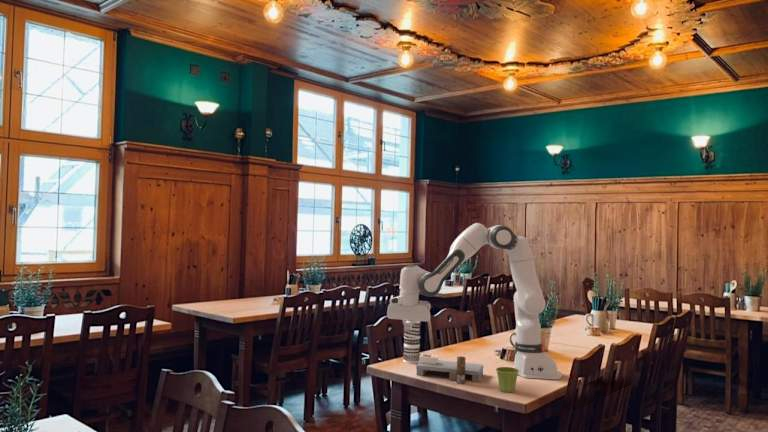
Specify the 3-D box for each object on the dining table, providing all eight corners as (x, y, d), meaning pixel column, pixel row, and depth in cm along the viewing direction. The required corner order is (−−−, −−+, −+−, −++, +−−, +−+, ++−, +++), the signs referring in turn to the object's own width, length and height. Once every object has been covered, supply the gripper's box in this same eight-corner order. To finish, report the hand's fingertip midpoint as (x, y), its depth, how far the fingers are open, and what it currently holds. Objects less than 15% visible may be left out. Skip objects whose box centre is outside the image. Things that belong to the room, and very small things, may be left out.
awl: (465, 382, 247) (466, 356, 247) (464, 384, 243) (464, 358, 244) (457, 381, 248) (457, 356, 248) (455, 383, 244) (456, 357, 245)
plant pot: (514, 395, 229) (514, 373, 229) (492, 391, 234) (492, 370, 234) (521, 390, 237) (522, 369, 237) (500, 386, 242) (500, 365, 242)
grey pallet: (483, 373, 263) (483, 363, 263) (477, 383, 246) (478, 372, 246) (424, 367, 272) (424, 357, 272) (414, 376, 254) (415, 366, 255)
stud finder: (438, 362, 263) (438, 355, 263) (436, 364, 259) (436, 357, 259) (421, 360, 265) (421, 354, 265) (419, 362, 261) (419, 355, 261)
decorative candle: (407, 364, 277) (408, 312, 278) (399, 359, 286) (400, 309, 286) (424, 362, 281) (425, 311, 282) (415, 358, 290) (416, 309, 290)
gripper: (432, 300, 265) (431, 330, 265) (390, 297, 272) (389, 326, 271) (429, 302, 259) (428, 332, 259) (386, 299, 266) (385, 329, 265)
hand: (408, 329), depth 265 cm, fingers closed
